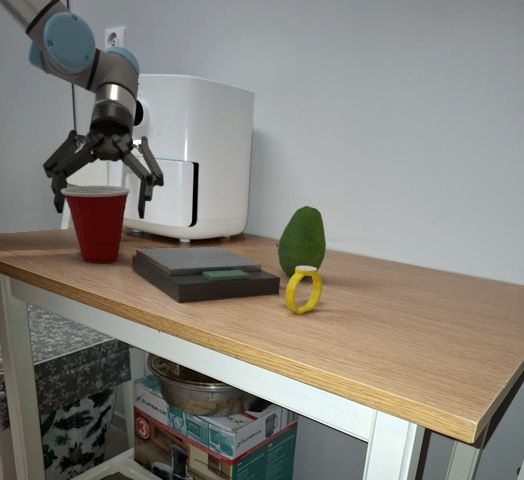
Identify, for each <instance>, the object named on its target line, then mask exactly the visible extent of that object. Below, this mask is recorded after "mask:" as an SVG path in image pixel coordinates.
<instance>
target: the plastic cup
mask: <svg viewBox="0 0 524 480" xmlns="http://www.w3.org/2000/svg"><path fill="white" fill-rule="evenodd" d="M130 191H131V189H130V188H128V187H124V186H116V185H80V186H79V185H78V186H70V187H67V188H64V189H62V190H61V193H62V194H64V196H65V202H66V203H67V206H68V209H69V211H70V216H71V220H72V223H73V227H74V232H75V236H76V240H77V242H78V246H79V251H80V255H81V257H82V260H83V261H85V262H87V263H92V264H93V263H94V264H110V263H115V262H117V261H118V258H119V253H120V247H121V242H122V235H123V226H124V218H125V210H126V205H127V200H128V196H129V194H130Z"/></svg>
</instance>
